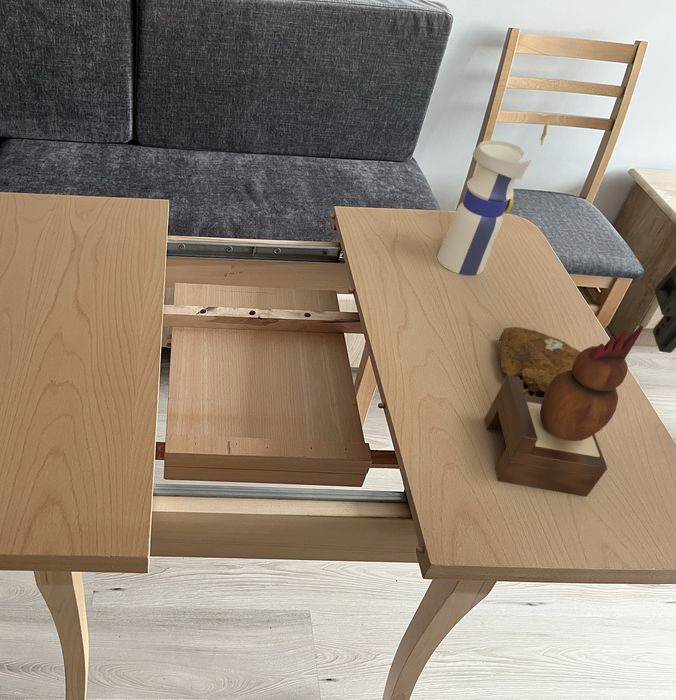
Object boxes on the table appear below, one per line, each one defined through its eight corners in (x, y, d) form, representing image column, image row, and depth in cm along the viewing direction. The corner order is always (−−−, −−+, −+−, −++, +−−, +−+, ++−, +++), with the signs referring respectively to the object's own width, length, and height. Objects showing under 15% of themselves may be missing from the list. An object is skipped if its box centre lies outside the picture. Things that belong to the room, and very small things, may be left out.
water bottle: (476, 248, 118) (536, 103, 101) (493, 277, 111) (560, 128, 95) (429, 245, 117) (482, 99, 101) (444, 274, 110) (503, 123, 94)
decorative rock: (597, 426, 88) (562, 353, 99) (614, 402, 85) (576, 330, 97) (509, 409, 87) (485, 338, 99) (523, 385, 85) (497, 315, 97)
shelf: (565, 432, 86) (592, 389, 81) (586, 497, 78) (619, 453, 73) (484, 418, 86) (506, 374, 81) (497, 481, 78) (524, 437, 74)
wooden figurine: (586, 417, 80) (653, 316, 70) (597, 454, 76) (670, 351, 66) (527, 405, 81) (585, 303, 71) (534, 441, 77) (597, 337, 67)
